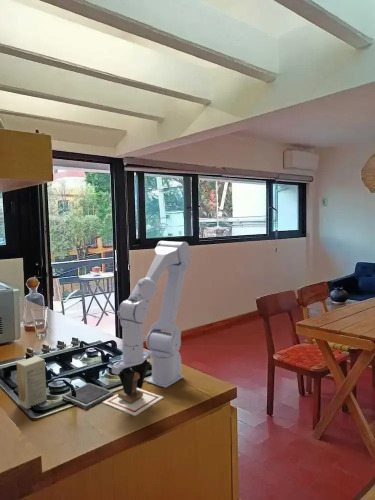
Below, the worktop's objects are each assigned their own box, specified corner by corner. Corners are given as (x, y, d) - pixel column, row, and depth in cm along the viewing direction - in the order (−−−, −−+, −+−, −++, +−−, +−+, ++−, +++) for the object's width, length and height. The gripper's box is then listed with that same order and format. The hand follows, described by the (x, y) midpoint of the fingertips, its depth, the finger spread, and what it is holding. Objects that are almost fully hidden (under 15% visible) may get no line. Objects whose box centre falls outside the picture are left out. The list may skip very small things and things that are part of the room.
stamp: (129, 391, 113) (131, 368, 112) (142, 397, 111) (145, 374, 110) (117, 397, 109) (119, 374, 108) (131, 404, 107) (133, 380, 106)
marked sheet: (132, 386, 118) (132, 385, 118) (163, 397, 111) (163, 396, 111) (102, 403, 108) (102, 401, 108) (135, 416, 101) (135, 414, 101)
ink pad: (89, 386, 118) (89, 382, 118) (113, 395, 113) (113, 391, 113) (62, 399, 110) (62, 395, 110) (86, 409, 105) (86, 405, 104)
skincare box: (39, 396, 112) (37, 355, 111) (47, 400, 109) (46, 358, 108) (17, 404, 107) (15, 361, 106) (25, 409, 104) (23, 365, 103)
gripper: (139, 333, 116) (139, 377, 118) (103, 347, 104) (104, 396, 106) (157, 338, 112) (158, 383, 114) (122, 353, 100) (123, 403, 102)
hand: (133, 390), depth 109 cm, fingers closed on stamp, 4 cm apart
